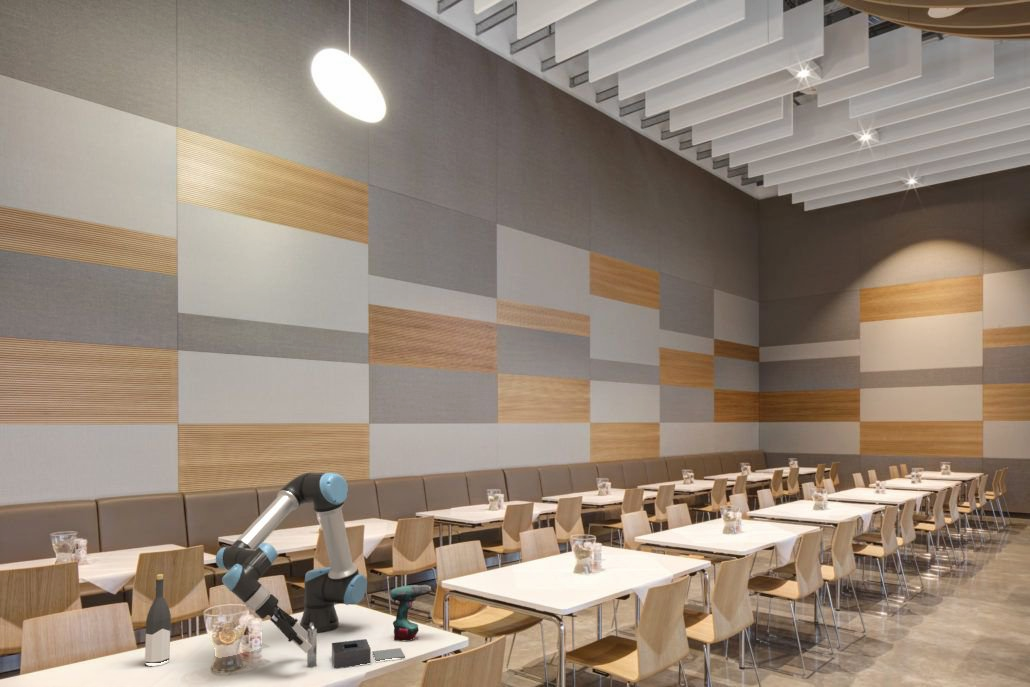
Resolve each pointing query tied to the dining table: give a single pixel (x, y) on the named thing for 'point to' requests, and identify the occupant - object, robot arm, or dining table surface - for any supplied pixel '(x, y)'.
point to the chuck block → (351, 653)
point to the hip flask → (313, 650)
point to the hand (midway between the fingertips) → (308, 643)
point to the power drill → (406, 610)
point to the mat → (388, 654)
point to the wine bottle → (158, 627)
